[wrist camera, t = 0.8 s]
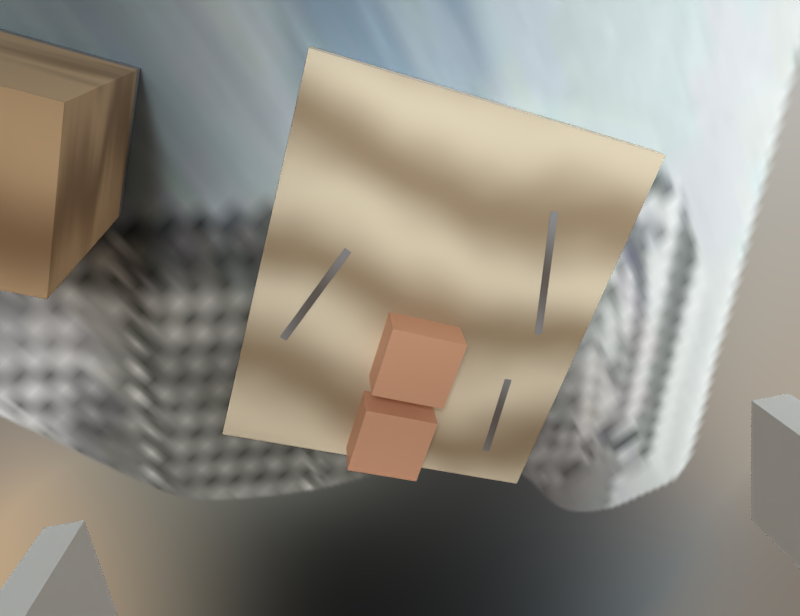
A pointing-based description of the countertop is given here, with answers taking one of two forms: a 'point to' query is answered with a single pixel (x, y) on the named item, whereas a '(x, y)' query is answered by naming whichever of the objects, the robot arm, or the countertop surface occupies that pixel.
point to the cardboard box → (59, 157)
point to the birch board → (430, 259)
